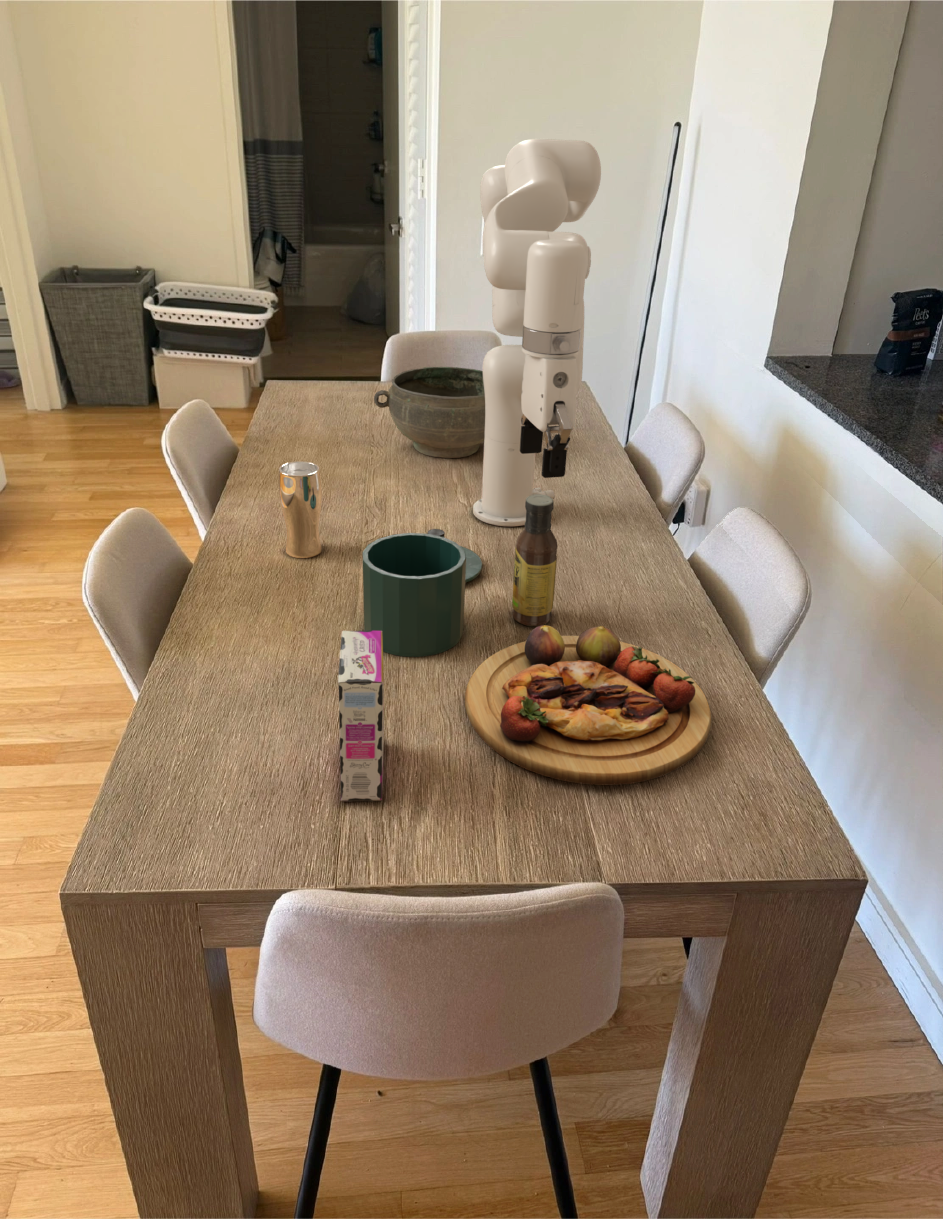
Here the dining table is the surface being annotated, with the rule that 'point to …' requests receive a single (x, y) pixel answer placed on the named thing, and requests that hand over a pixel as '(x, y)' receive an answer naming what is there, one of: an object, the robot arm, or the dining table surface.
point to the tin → (414, 593)
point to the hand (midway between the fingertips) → (541, 464)
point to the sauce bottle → (535, 564)
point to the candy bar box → (361, 715)
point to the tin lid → (471, 558)
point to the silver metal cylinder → (301, 507)
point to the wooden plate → (587, 708)
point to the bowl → (438, 409)
